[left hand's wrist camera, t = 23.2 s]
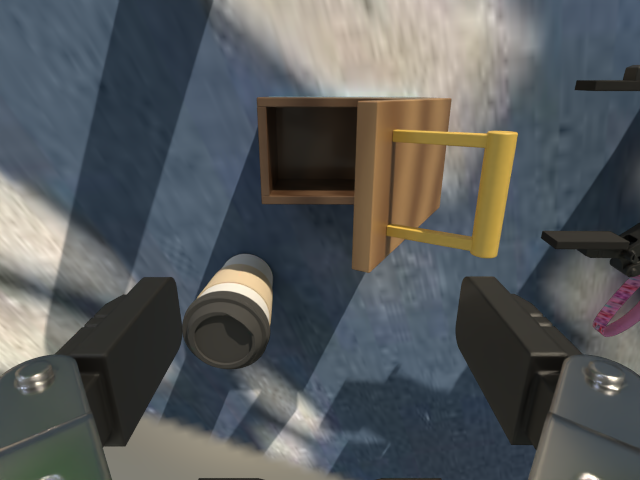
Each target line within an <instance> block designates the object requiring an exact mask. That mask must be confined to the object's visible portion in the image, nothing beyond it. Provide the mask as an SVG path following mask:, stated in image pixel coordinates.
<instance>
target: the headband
mask: <svg viewBox="0 0 640 480" xmlns="http://www.w3.org/2000/svg"><path fill="white" fill-rule="evenodd" d="M639 287H640V275H638V276H635V277H630V278H629V279H628V280H627V281H626V282H625V283H624V284H623V285H622V286H621V287H620V288H619V290H618V291H617V292H616V293H615V294H614V295H613V296H612V298H611V299H610V300H609V301H608V302H607V303H606V305H605V306H604V307H603V308H602V310H601V311H600V312H599V314H598V315H597V317H596V318H595V320H594V322H593V327H594V328H595V329H596V330H597V331H599V332H600V333H601V334H602V335H603V336H605V337H610V336H614V335H617V334H619V333H621V332H623V331H625V330H627V329H628V328H630V327H632V326H633V325H634V324H636V323H637V322H638V321H640V301H639V302H638V303H637V304H636V306H635V307H634V308H633V309H631V310H630V311H629V312H628V313H627V314H626V315H624V316H623V317H621V318H620V319H619V320H617V321H615V322H613V323H612V324H610V325H607V324H608V322H609V321H610V320H611V318H612V317H613V316H614V315H615V313H616V312H617V311H618V310H619V309H620V307H621V306H622V305H623V304H624V303H625V302H626V301H627V300H628V298H629V297H630V296H631V295H632V294H633V293H634V292H635V291H636V290H637V289H638V288H639ZM606 325H607V326H606Z"/></svg>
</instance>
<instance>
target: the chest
mask: <svg viewBox="0 0 640 480" xmlns="http://www.w3.org/2000/svg"><path fill="white" fill-rule="evenodd" d="M402 99H431V98H424V97H258V98H257V114H258V135H259V155H260V176H261V196H262V204H354V193H355V164H356V135H357V106H358V101H373V100H402Z"/></svg>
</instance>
